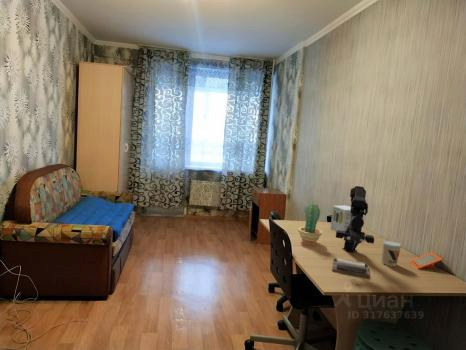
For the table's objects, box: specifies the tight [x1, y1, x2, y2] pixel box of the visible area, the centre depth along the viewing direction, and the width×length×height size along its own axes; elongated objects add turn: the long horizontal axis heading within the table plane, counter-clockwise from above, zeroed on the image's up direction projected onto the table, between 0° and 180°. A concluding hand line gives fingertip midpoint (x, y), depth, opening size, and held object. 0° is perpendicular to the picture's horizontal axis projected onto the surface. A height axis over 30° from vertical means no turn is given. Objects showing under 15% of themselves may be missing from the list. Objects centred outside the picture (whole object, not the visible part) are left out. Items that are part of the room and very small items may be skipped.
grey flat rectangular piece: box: [336, 257, 366, 273], centre depth 192 cm, size 12×14×2 cm
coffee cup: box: [381, 240, 402, 267], centre depth 205 cm, size 9×9×12 cm
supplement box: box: [330, 204, 351, 233], centre depth 266 cm, size 13×13×18 cm
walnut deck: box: [331, 257, 370, 279], centre depth 192 cm, size 14×18×2 cm
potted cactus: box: [297, 202, 323, 246], centre depth 231 cm, size 15×15×25 cm
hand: (352, 252), depth 190 cm, fingers closed
